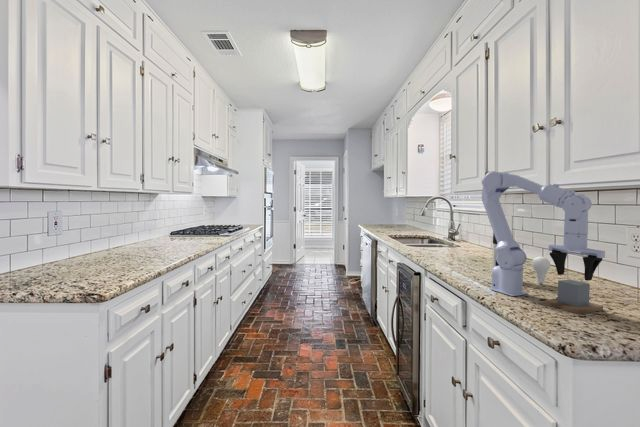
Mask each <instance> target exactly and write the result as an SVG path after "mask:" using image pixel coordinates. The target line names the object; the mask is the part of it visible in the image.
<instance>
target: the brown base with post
mask: <svg viewBox="0 0 640 427" xmlns="http://www.w3.org/2000/svg"><path fill="white" fill-rule="evenodd" d="M557 299H558V297H557V298H551V299H545V300H544V305H547V306H550V307H553V308H558V309H560V310H562V311H567V312H570V313H573V314H577V315H584V313H585V314H590V313H593V312H601V311H603V310H604V305H601V304H598V303H597V304H596V303H593V302H590V301H589V305H585V306H580V307H575V306H572V305H568V304H565V303H561V302H558V301H557ZM589 312H590V313H589Z"/></svg>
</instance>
